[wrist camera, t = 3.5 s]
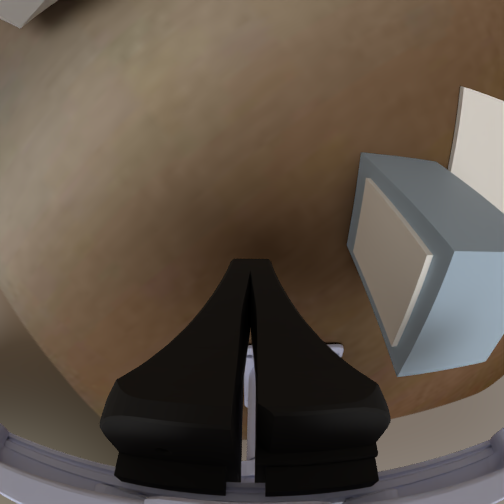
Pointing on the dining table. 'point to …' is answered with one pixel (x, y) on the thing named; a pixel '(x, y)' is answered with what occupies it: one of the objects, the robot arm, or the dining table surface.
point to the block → (428, 263)
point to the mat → (480, 145)
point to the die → (22, 10)
